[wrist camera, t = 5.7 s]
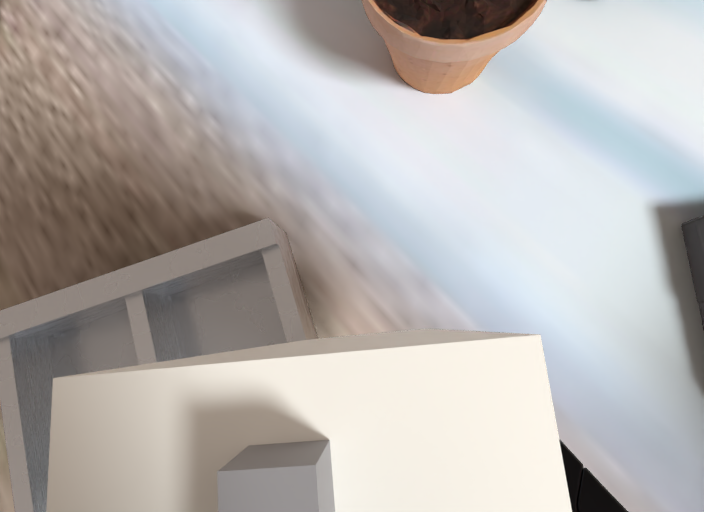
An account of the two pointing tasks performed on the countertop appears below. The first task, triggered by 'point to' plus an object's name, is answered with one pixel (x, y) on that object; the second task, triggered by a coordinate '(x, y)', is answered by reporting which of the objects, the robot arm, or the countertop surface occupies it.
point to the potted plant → (448, 36)
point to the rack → (142, 329)
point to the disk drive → (696, 256)
